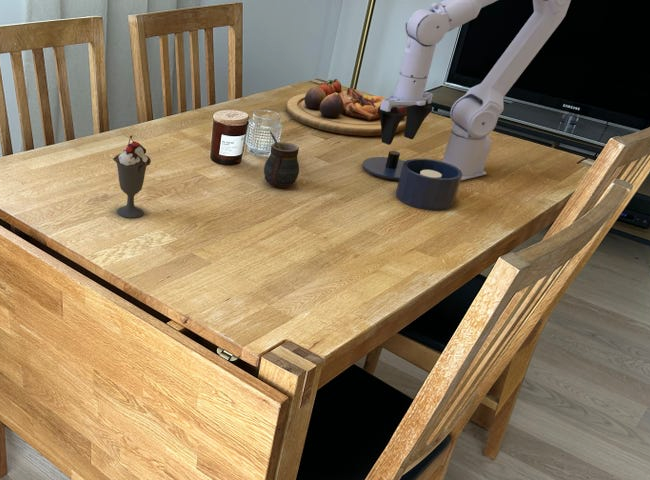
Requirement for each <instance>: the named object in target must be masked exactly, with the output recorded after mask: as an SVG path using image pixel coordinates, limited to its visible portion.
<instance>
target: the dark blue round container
mask: <svg viewBox="0 0 650 480" xmlns="http://www.w3.org/2000/svg"><path fill="white" fill-rule="evenodd" d="M404 161H405V162H404V163H403V166H402V170H401V174H400V178H399V180H398V182H397V186H396V189H395V196H396V198H397V200H399V201H400V202H402V203H403V204H405V205H408V206H409V207H413V208H417V209H420V210H426V211H445V210H448V209H450V208H452V207H453V205H454V203H455V200H456V197H457V194H458V190H459V188H460V184H461V182H462V181H461V178H462V172H461V170H459V169H458V168H457V167H455V166H453V165H451V164H448V163H445V162H442V161H443V160H437V159H431V158H411V159H406V160H404ZM422 170H433V171H437V172H439V173H441V175H442V177H441V178H433V177H427V176H424V175H420V172H421V171H422Z"/></svg>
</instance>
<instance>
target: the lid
mask: <svg viewBox="0 0 650 480" xmlns="http://www.w3.org/2000/svg"><path fill="white" fill-rule="evenodd" d="M400 156H401V152H399V151H397V150H390V151H388V153H387V156H374V157H368V158H366V159H364V160H363V161H362V164H361V166H362V168H363V170H365V171H367V173H369V174H371V175H374V176H377V177H378V178H379V177H380V178H383V179H389V180H394V181H395V180H396V181H397V180H398V181H399V178H400V174H401V170H402V166H403V163H404V162H405V161H406V160H403V159H400Z"/></svg>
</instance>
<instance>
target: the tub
mask: <svg viewBox="0 0 650 480" xmlns="http://www.w3.org/2000/svg"><path fill="white" fill-rule="evenodd" d="M420 175H424V176H427V177H433V178H441V177H442V175H441V173H439V172H437V171H433V170H422V171H421V172H420Z"/></svg>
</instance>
